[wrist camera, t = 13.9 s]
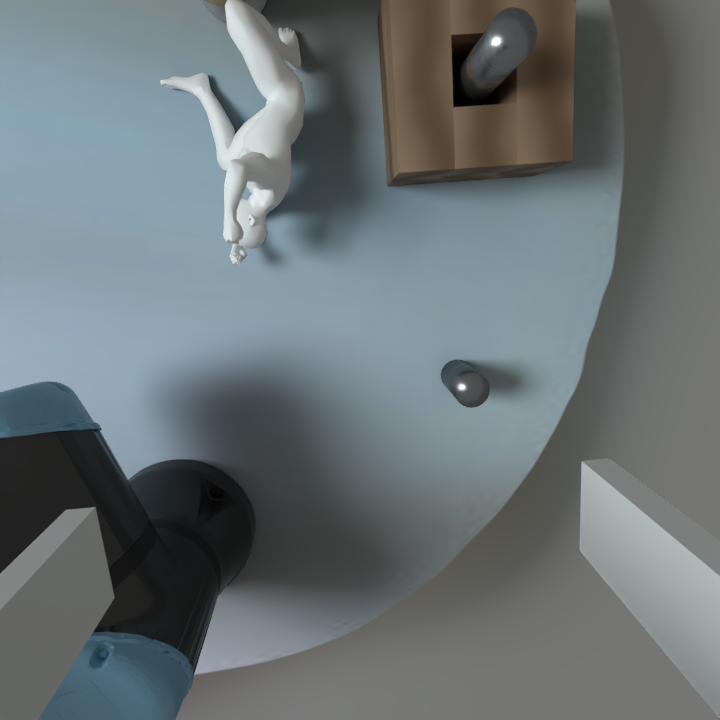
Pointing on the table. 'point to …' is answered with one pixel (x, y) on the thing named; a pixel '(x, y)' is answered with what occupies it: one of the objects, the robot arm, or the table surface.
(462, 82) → the long pin
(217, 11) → the coffee cup
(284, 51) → the person figurine
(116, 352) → the table surface
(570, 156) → the pin block
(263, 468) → the table surface
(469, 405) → the short pin
